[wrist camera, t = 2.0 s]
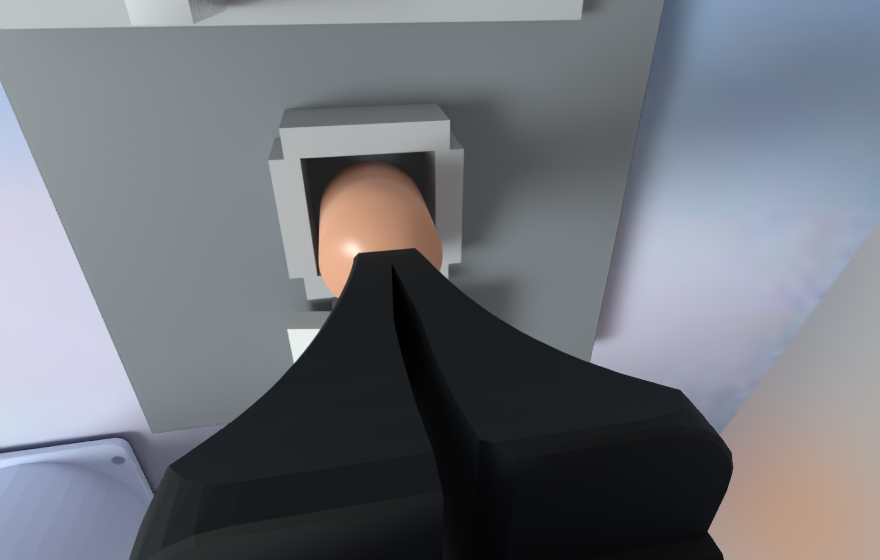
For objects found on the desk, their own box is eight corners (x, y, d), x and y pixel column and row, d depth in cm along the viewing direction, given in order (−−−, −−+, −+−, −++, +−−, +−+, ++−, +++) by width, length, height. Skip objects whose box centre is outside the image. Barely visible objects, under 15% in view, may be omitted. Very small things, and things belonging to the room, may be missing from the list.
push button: (424, 251, 16) (442, 304, 13) (326, 260, 15) (326, 317, 13) (422, 157, 14) (443, 198, 12) (313, 164, 14) (310, 207, 11)
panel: (569, 345, 24) (608, 406, 21) (166, 396, 21) (136, 477, 18) (658, -167, 14) (760, -208, 11) (-67, -202, 11) (-230, -273, 8)
